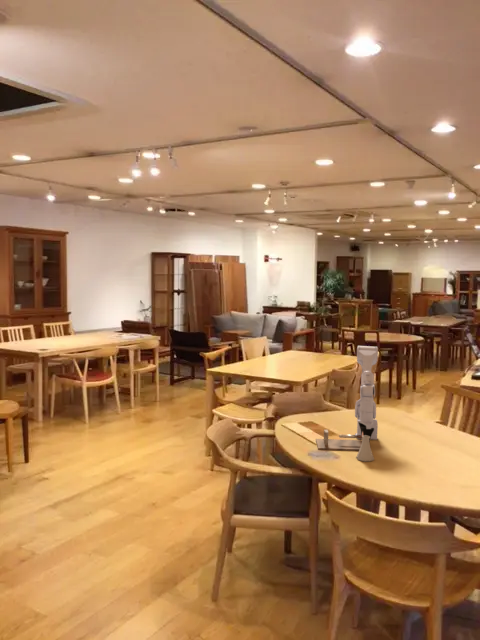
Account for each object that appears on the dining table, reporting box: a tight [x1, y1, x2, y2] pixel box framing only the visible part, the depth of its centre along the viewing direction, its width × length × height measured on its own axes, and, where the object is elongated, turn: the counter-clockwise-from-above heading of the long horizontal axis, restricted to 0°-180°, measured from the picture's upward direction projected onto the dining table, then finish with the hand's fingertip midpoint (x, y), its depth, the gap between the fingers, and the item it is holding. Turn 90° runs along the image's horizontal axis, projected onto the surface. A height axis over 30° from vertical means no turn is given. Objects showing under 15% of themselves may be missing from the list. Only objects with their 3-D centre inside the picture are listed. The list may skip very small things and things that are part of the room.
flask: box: [355, 435, 375, 462], centre depth 247 cm, size 7×7×10 cm
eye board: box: [315, 429, 362, 452], centre depth 265 cm, size 22×14×7 cm, turn 87°
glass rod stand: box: [338, 431, 363, 440], centre depth 265 cm, size 13×5×5 cm, turn 87°
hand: (365, 440), depth 265 cm, fingers open, 6 cm apart
